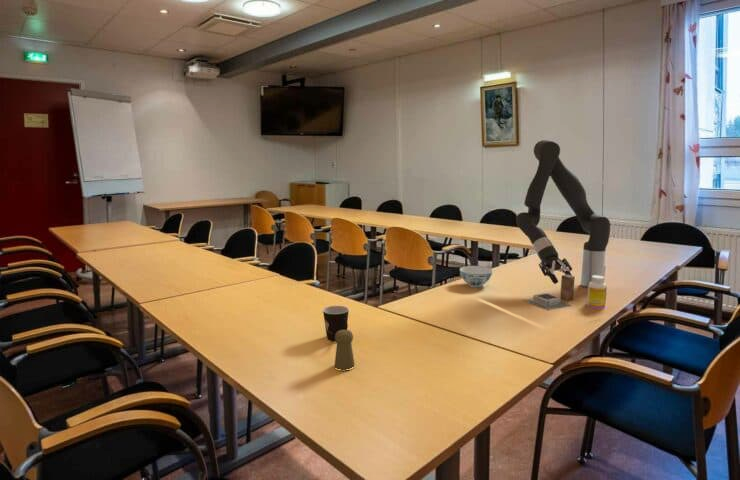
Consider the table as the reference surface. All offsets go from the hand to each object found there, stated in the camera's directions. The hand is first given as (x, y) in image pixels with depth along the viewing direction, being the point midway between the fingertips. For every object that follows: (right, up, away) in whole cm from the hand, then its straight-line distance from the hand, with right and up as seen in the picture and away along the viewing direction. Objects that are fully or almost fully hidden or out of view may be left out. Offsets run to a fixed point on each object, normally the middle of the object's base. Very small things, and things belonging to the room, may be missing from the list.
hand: (564, 281), depth 193 cm
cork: (-89, -20, -58) cm, 108 cm away
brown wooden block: (+1, -8, 0) cm, 8 cm away
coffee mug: (-93, -16, -38) cm, 101 cm away
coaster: (-9, -9, -5) cm, 14 cm away
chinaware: (-31, -4, +25) cm, 40 cm away
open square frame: (-9, -8, -5) cm, 13 cm away
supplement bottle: (+9, -10, -8) cm, 16 cm away
